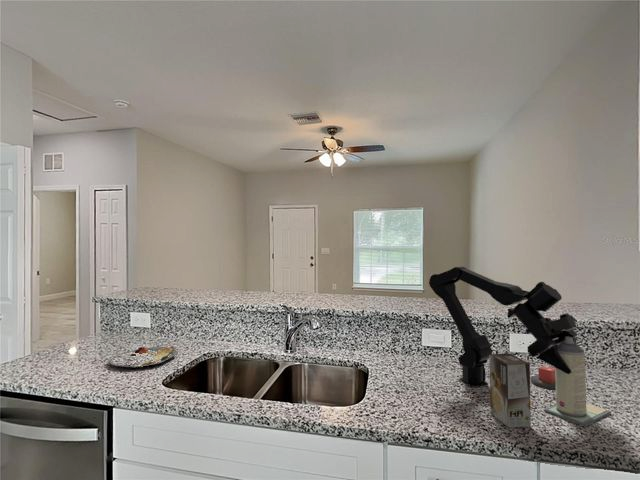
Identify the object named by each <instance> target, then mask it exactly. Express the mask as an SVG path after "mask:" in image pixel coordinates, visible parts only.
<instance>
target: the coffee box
mask: <svg viewBox="0 0 640 480" xmlns="http://www.w3.org/2000/svg"><path fill="white" fill-rule="evenodd" d="M488 360H489V397H490V398H489V399H490V400H489V401H490V405H489V407H490V408H489V409H490V411H489V412H490V414H492V415H493V417H495V418H496V419H497V420H499V421H500V422H501V423H502V424H503V425H505V426H506V427H507V428H510V429H511V428H530V427H532V423H531V422H532V416H531V415H532V414H531V413H532V412H531V410H532V408H531V407H532V406H531V405H532V403H531V363H530V362H527V361H526V360H524V359H522V358H520V357H518V356H516V355H513V354H511V353H493V354H490V355H489V359H488Z"/></svg>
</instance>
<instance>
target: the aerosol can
mask: <svg viewBox="0 0 640 480" xmlns="http://www.w3.org/2000/svg"><path fill="white" fill-rule="evenodd" d="M557 347H558V353H559V355H560V356H561V357H562V359H563V360H564V361H565V363H566V364H567V365H568V367H569V368H570V370H571V373H570V374H567V373H565V372H563V371H561V370H559V369H558V368H556V367H554V368H555V384H556V390H555V405H556V410H557V411H558V412H560V413H562V414H564V415H568V416H572V417H585V416H586V415H587V413H586V412H587V410H586V403H587V386H586V385H587V384H586V383H587V382H586V366H585V364H586V354H585V349H584V348H581V347H580V345H579V344H577V342H576V343H575V342H574V341H573V337H565V340H564V341H563V342H562V343H560V344H559V345H558V346H557Z"/></svg>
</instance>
